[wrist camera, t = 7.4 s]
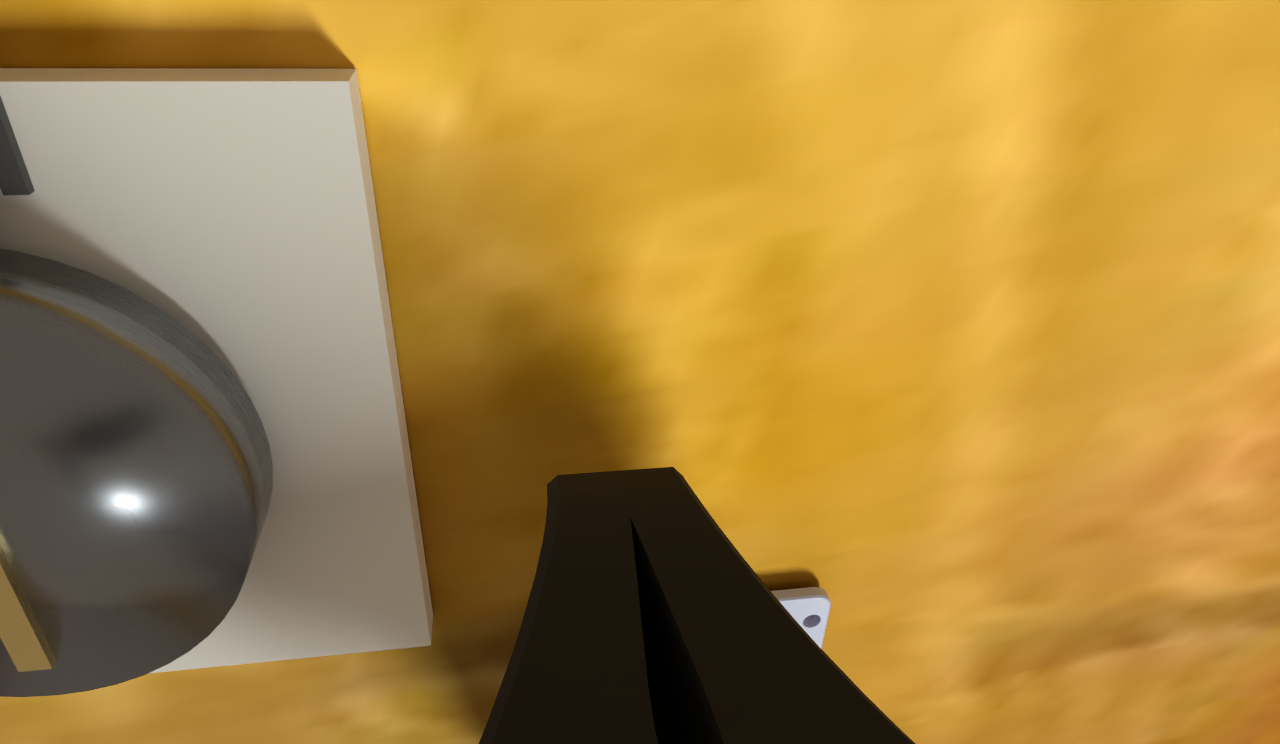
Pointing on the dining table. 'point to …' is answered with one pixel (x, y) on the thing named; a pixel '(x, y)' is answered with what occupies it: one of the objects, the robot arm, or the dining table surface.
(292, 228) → the white square board
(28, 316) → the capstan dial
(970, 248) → the dining table surface
